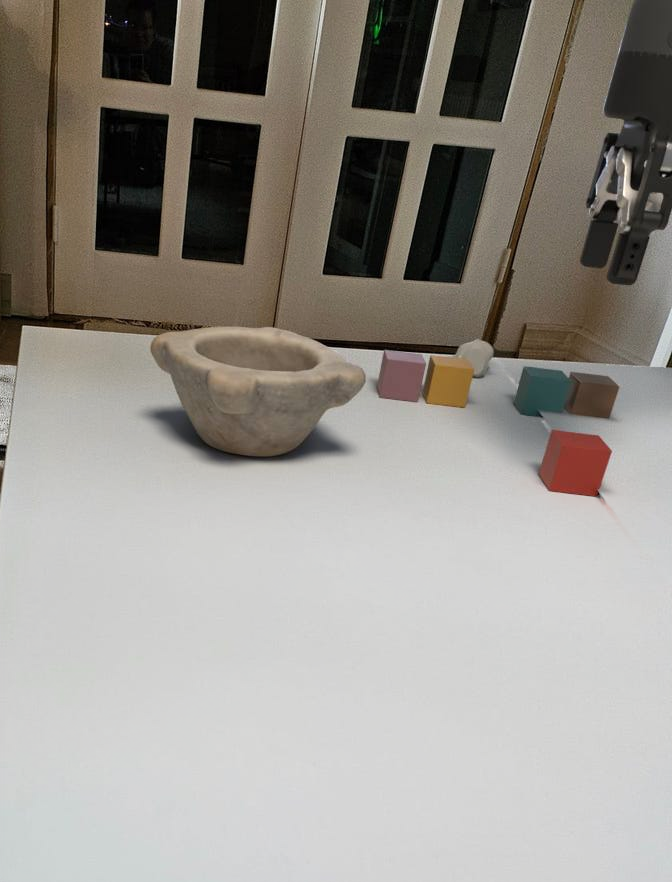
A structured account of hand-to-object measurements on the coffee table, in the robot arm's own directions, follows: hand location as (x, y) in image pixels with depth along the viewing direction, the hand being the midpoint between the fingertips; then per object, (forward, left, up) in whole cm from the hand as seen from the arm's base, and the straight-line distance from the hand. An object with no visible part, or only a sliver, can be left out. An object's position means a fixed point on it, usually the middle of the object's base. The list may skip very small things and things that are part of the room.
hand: (605, 274), depth 80 cm
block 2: (+6, -25, -19) cm, 32 cm away
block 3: (-5, -25, -19) cm, 32 cm away
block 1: (+12, -25, -19) cm, 34 cm away
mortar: (+29, -1, -19) cm, 34 cm away
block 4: (-10, -25, -19) cm, 33 cm away
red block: (-2, 0, -19) cm, 19 cm away
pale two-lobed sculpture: (+1, -41, -19) cm, 45 cm away
